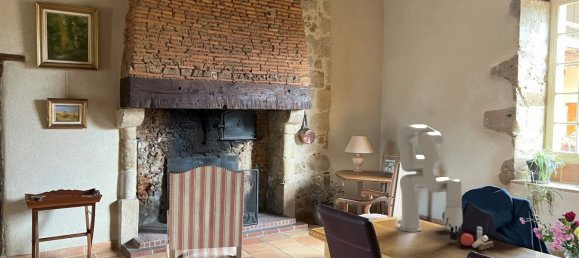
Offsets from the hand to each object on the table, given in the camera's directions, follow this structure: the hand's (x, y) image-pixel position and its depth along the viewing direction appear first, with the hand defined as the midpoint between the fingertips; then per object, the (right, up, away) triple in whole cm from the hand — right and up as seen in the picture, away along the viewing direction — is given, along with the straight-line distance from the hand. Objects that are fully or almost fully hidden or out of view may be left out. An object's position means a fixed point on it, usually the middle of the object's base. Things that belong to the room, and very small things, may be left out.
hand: (453, 239), depth 228 cm
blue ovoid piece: (+7, -1, +25) cm, 26 cm away
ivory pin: (+6, -1, -10) cm, 12 cm away
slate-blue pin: (+12, -2, -4) cm, 12 cm away
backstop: (+12, -2, -11) cm, 16 cm away
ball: (+4, +1, -7) cm, 8 cm away
